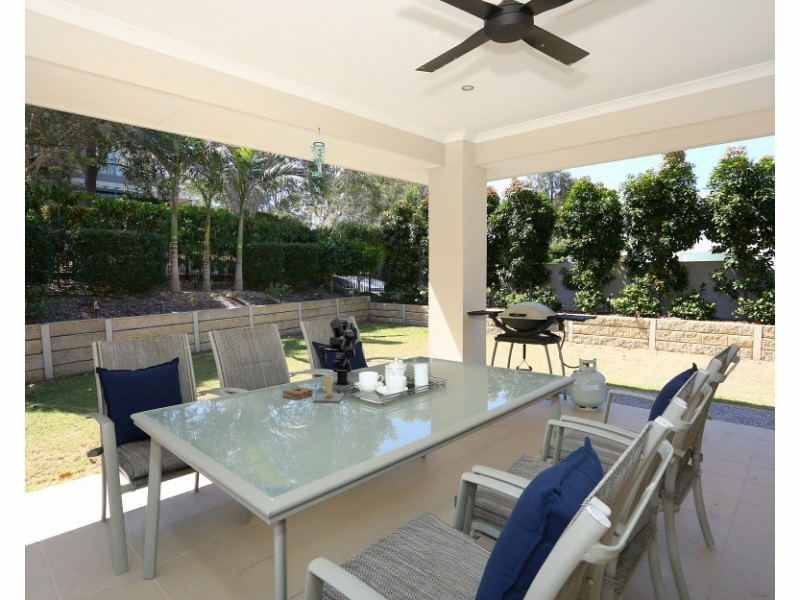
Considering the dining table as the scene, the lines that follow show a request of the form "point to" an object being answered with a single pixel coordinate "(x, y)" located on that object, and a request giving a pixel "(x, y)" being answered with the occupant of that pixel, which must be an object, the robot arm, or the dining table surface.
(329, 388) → the t key
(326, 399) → the mat
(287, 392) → the slot block
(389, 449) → the dining table surface
